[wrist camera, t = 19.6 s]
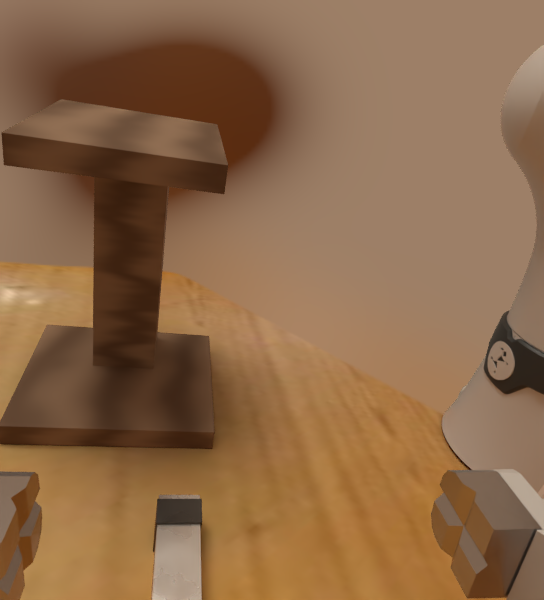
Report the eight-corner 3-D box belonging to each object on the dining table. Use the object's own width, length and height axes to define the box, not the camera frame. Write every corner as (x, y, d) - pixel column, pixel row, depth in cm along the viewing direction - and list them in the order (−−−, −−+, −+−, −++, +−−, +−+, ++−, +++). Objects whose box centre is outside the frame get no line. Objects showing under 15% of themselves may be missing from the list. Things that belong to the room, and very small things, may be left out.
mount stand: (207, 349, 59) (237, 127, 47) (211, 448, 45) (257, 169, 33) (47, 339, 55) (37, 95, 43) (-1, 443, 41) (-35, 127, 30)
